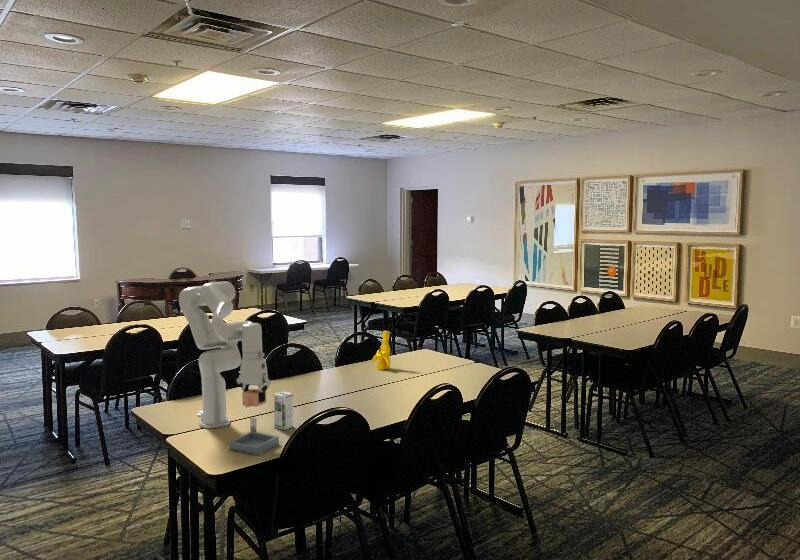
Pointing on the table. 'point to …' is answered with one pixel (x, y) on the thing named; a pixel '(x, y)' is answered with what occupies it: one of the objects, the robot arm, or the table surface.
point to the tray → (254, 443)
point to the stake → (253, 425)
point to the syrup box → (283, 410)
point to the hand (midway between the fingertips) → (254, 400)
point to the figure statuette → (383, 353)
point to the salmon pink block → (252, 398)
